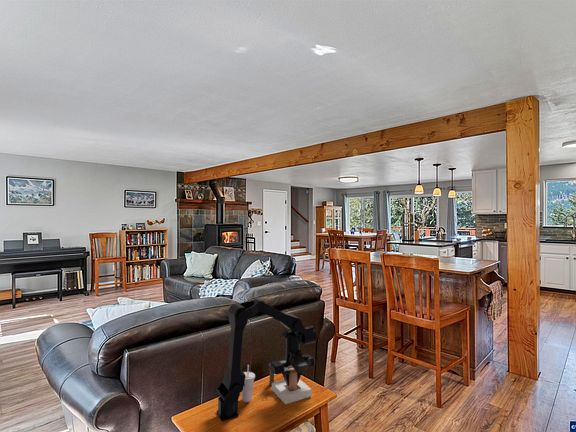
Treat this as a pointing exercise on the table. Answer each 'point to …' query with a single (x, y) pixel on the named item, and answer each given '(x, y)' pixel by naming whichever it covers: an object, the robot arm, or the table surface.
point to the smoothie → (248, 386)
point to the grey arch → (273, 374)
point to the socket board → (292, 396)
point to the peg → (292, 380)
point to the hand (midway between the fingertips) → (292, 384)
